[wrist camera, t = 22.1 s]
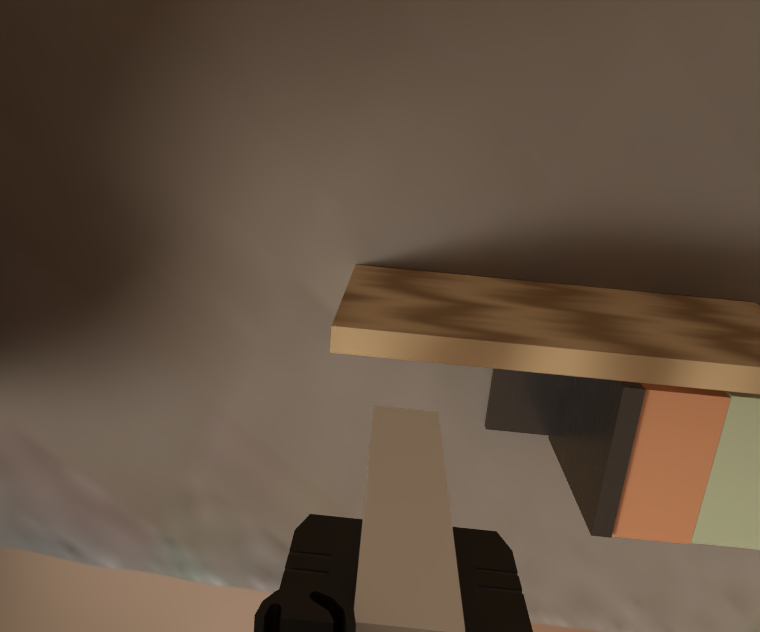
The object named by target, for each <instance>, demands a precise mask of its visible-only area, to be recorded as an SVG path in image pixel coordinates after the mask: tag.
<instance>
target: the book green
mask: <svg viewBox="0 0 760 632" xmlns="http://www.w3.org/2000/svg"><path fill="white" fill-rule="evenodd" d="M724 392H725V393H726V394H727V395H728V396H729V397H731V399H730V403H729V406H728V410H727V413H726V417H725V421H724V424H723V428H722V432H721V435H720V439H719V442H718V446H717V450H716V453H715V457H714V460H713V464H712V468H711V471H710V475H709V478H708V482H707V486H706V489H705V493H704V496H703V500H702V504H701V507H700V511H699V515H698V518H697V522H696V525H695V529H694V533H693V536H692V540H691V543H699V544H709V545H719V546H729V547H738V548H748V549H758V550H760V394H752V393H741V392H731V391H724Z"/></svg>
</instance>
